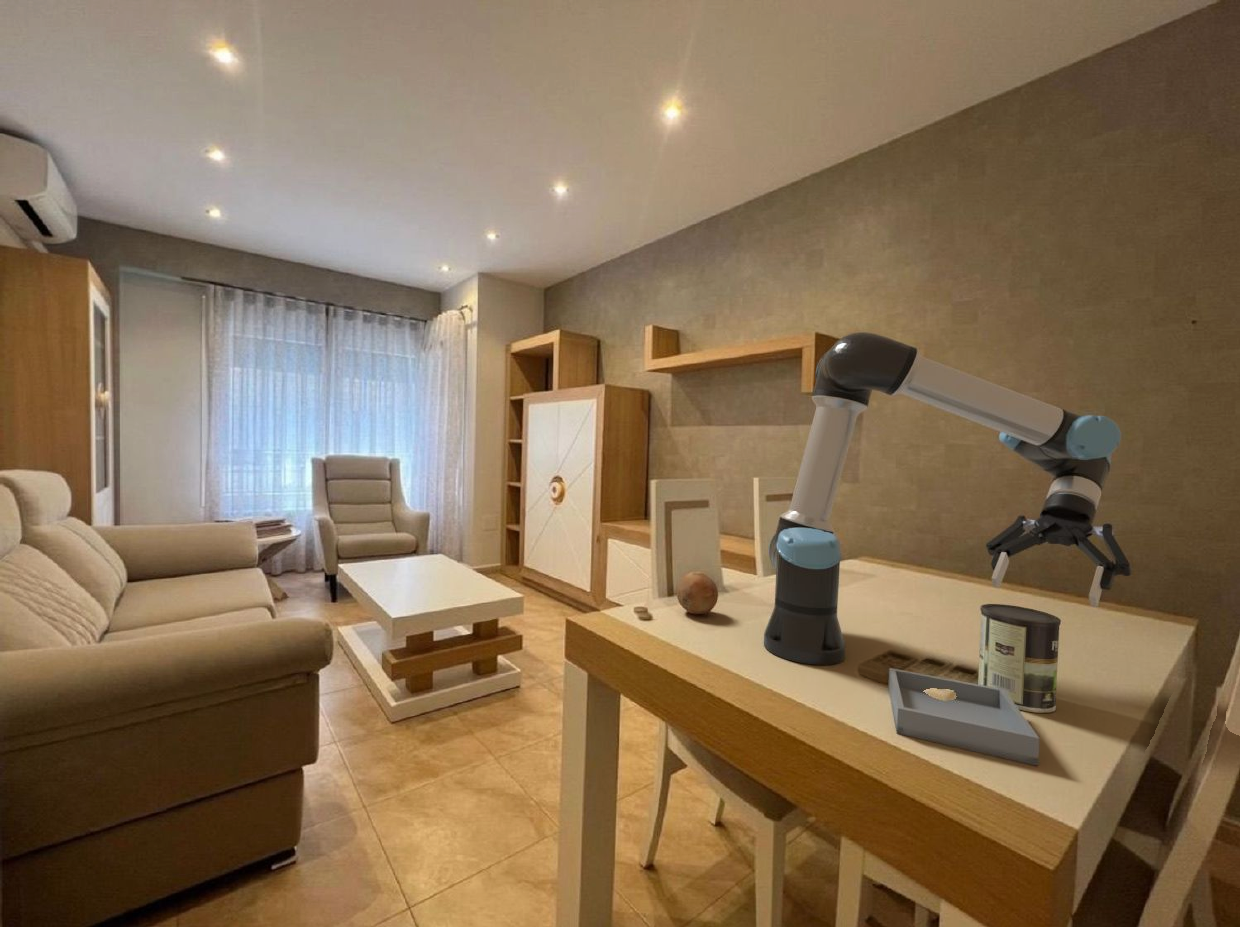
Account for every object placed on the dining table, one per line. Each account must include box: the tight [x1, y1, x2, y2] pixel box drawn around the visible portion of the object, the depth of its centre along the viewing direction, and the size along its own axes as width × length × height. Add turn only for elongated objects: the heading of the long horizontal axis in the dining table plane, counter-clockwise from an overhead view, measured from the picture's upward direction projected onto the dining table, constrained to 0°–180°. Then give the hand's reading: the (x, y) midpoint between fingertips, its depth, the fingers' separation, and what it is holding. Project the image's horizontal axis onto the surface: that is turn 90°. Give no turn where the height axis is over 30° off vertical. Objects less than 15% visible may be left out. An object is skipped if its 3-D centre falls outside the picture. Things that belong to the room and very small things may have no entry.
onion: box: [676, 571, 719, 615], centre depth 121 cm, size 10×10×10 cm
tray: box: [887, 667, 1040, 767], centre depth 74 cm, size 16×16×4 cm
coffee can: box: [977, 603, 1062, 714], centre depth 83 cm, size 10×10×14 cm
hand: (1041, 592), depth 89 cm, fingers open, 13 cm apart
